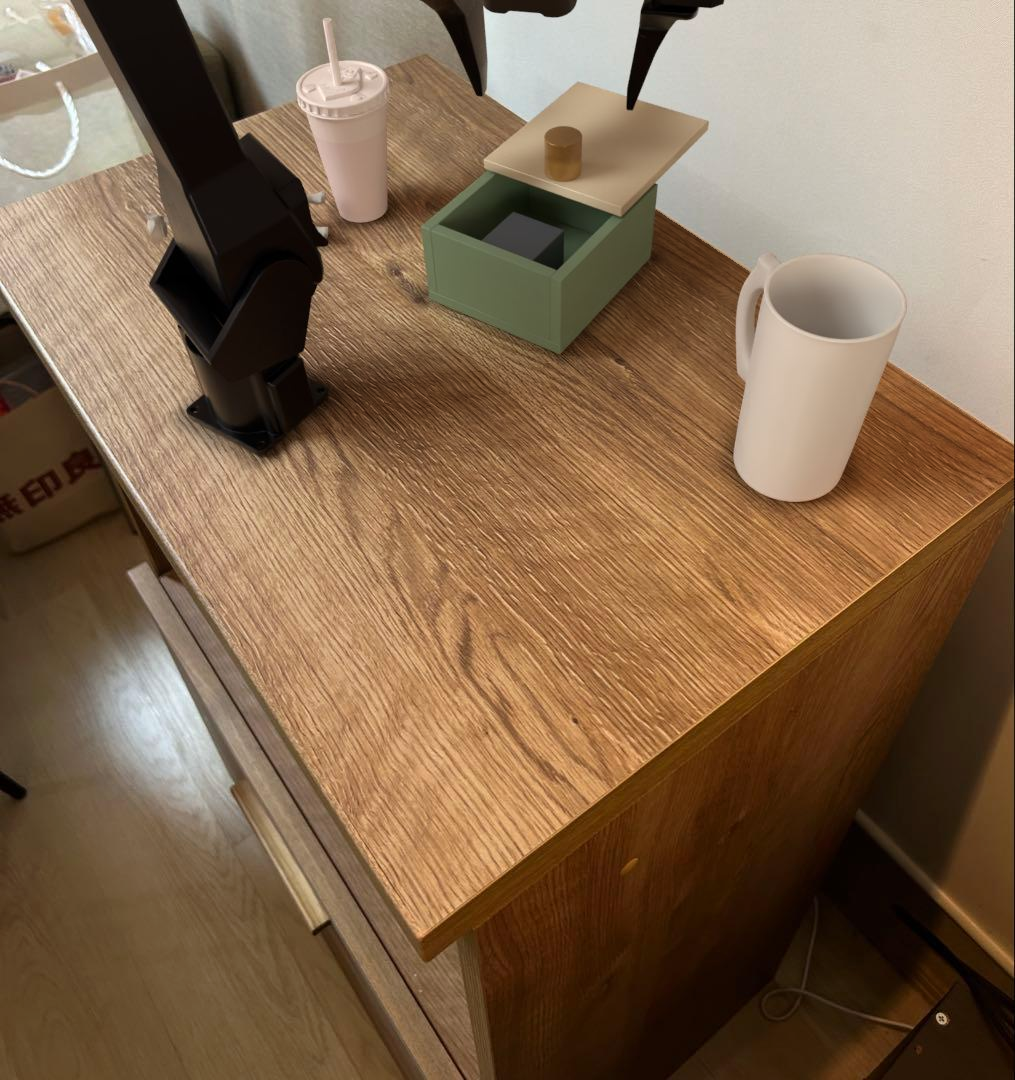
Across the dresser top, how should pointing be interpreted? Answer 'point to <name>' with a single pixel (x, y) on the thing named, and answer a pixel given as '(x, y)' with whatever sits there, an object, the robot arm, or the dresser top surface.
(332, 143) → the smoothie
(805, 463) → the mug
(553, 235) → the block
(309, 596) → the dresser top surface
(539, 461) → the dresser top surface
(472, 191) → the box
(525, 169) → the slide lid
